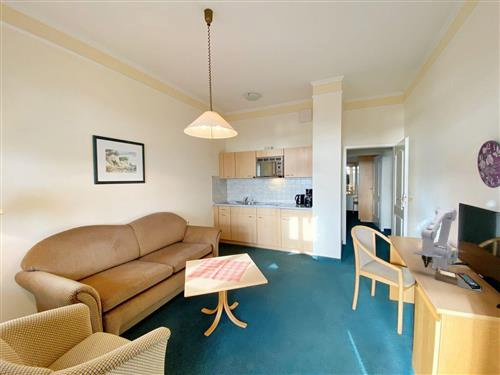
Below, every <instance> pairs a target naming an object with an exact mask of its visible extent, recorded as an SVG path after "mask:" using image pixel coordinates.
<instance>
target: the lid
mask: <svg viewBox="0 0 500 375" xmlns="http://www.w3.org/2000/svg"><path fill="white" fill-rule="evenodd" d="M438 273H441V274H445V275H449V276H453V277H455V274H454V273H450V272H446V271H442V270H441V268H440V267H438Z"/></svg>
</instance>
